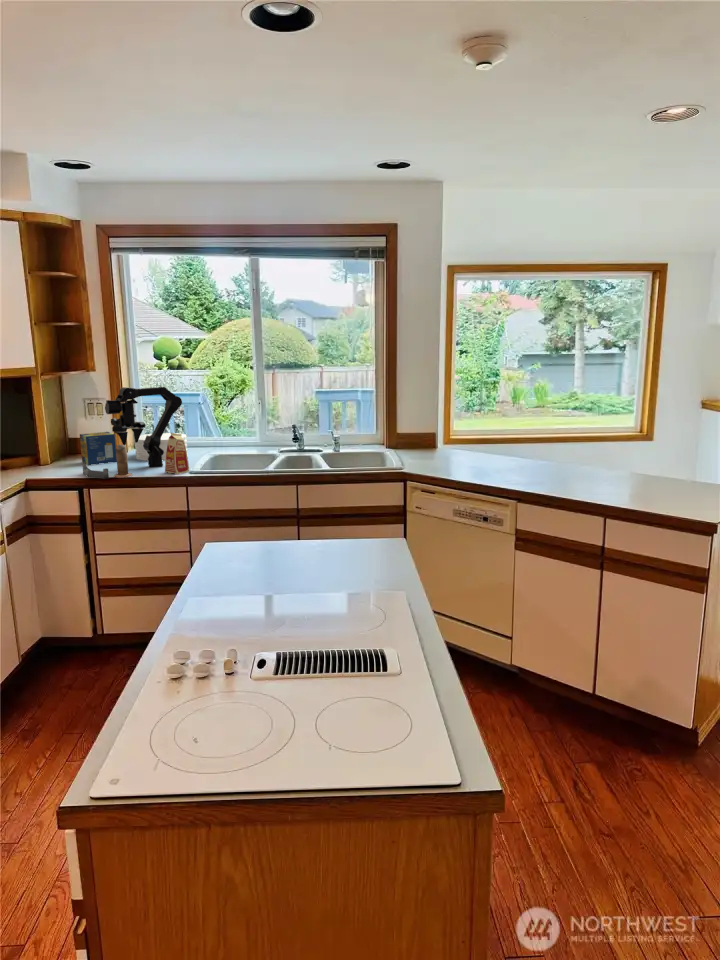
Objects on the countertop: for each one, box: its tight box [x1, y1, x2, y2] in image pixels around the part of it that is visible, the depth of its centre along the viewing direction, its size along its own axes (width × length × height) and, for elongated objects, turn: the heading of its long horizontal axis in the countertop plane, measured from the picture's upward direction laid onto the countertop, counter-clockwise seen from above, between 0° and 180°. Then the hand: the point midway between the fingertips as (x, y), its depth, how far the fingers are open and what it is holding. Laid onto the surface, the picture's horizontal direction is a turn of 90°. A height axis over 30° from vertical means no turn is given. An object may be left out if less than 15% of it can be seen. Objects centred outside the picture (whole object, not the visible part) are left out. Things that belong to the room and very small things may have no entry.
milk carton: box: [164, 432, 190, 475], centre depth 315 cm, size 9×9×20 cm
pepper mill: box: [116, 444, 129, 475], centre depth 306 cm, size 5×5×14 cm
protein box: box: [79, 431, 117, 466], centre depth 341 cm, size 10×15×16 cm
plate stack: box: [134, 432, 189, 461], centre depth 359 cm, size 28×28×12 cm
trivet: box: [113, 472, 133, 479], centre depth 307 cm, size 8×8×1 cm
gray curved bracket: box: [82, 463, 110, 480], centre depth 306 cm, size 5×21×5 cm, turn 52°
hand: (130, 443), depth 321 cm, fingers open, 9 cm apart
